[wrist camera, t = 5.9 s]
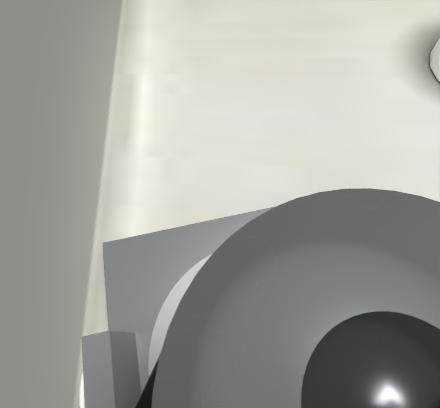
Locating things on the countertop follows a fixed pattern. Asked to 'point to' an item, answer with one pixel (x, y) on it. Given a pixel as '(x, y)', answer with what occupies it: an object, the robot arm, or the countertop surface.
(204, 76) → the countertop surface
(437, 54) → the white cup
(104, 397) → the scale
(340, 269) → the metal canister
